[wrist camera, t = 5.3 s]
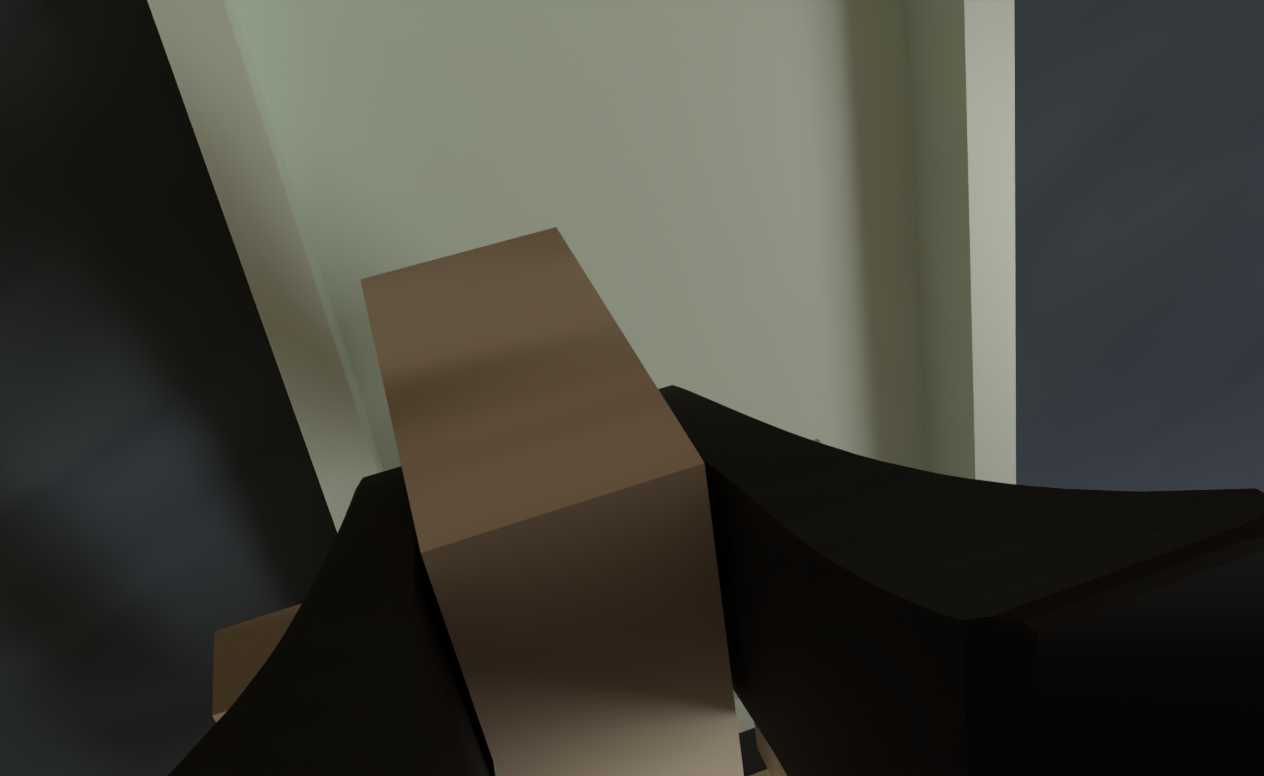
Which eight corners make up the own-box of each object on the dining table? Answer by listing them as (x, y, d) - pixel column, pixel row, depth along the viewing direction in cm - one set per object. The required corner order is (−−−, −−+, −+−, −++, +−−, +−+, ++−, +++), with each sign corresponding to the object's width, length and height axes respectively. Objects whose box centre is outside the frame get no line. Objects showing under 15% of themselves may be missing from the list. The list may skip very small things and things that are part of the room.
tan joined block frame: (833, 791, 21) (975, 1045, 17) (391, 960, 19) (431, 1285, 15) (805, 160, 13) (1052, 352, 9) (67, 357, 12) (-21, 692, 8)
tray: (958, 576, 27) (1016, 634, 25) (432, 756, 25) (446, 837, 23) (930, -266, 19) (1013, -291, 17) (126, -125, 16) (100, -131, 14)
